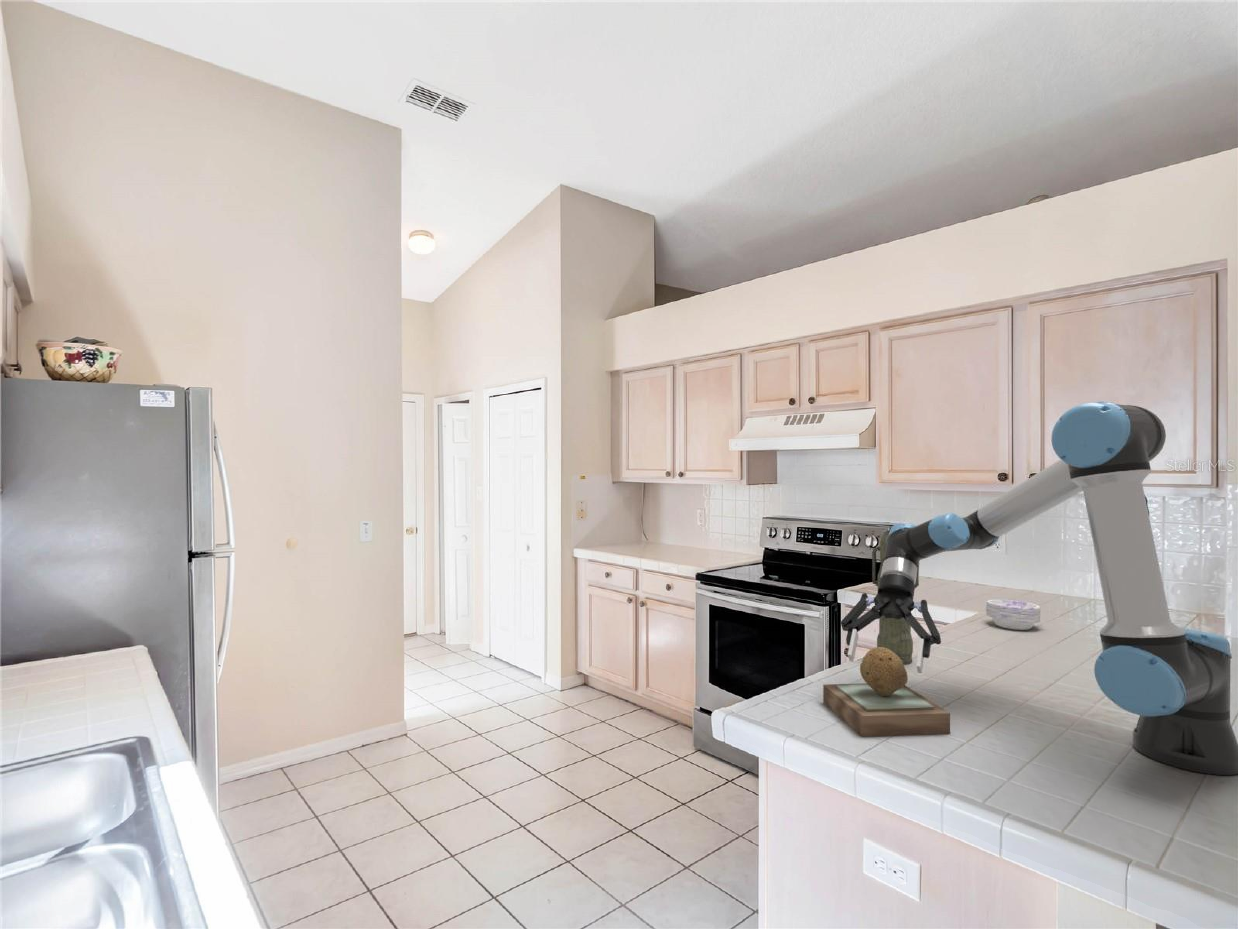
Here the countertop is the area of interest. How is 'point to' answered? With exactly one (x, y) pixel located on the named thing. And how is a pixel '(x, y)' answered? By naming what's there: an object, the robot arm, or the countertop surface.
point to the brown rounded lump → (883, 671)
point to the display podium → (885, 711)
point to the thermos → (890, 629)
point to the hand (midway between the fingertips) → (883, 664)
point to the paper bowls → (1013, 614)
